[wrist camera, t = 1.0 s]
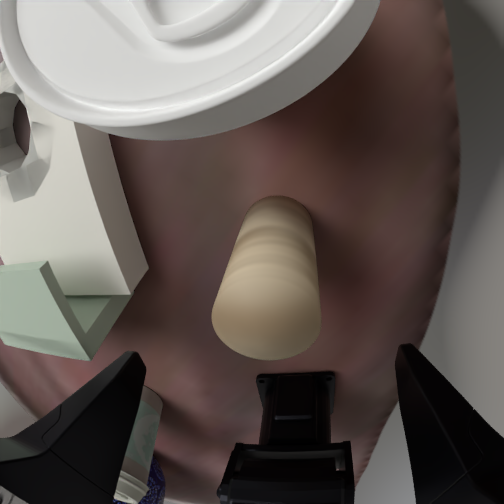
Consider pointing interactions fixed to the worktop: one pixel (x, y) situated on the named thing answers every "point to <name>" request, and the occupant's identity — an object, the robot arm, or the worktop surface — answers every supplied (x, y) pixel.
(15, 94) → the socket
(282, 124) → the worktop surface
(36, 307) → the mint green folder
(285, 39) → the beverage can
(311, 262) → the peg
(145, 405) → the coffee cup
